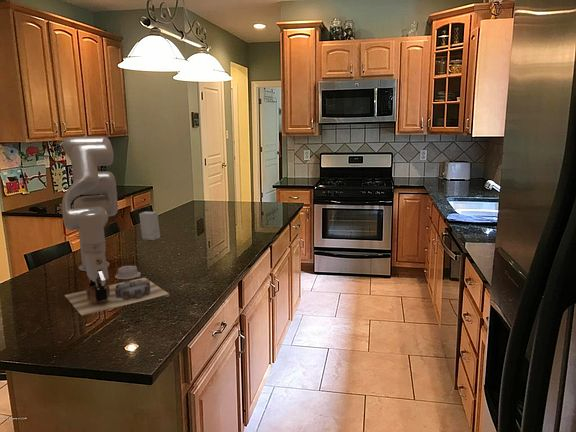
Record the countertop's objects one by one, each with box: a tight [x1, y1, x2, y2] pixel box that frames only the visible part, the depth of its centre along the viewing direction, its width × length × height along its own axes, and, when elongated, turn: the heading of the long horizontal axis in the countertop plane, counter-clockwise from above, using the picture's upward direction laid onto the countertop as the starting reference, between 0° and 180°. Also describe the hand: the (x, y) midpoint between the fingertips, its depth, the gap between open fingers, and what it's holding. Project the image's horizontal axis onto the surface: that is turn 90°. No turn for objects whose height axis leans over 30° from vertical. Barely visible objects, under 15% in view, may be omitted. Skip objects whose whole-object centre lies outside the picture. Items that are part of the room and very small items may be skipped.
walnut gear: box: [85, 284, 110, 301], centre depth 161 cm, size 7×7×4 cm
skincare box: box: [138, 210, 161, 241], centre depth 252 cm, size 8×6×15 cm
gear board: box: [64, 277, 171, 319], centre depth 168 cm, size 24×30×6 cm
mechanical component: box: [114, 265, 142, 280], centre depth 190 cm, size 10×4×10 cm
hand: (98, 296), depth 161 cm, fingers open, 7 cm apart
